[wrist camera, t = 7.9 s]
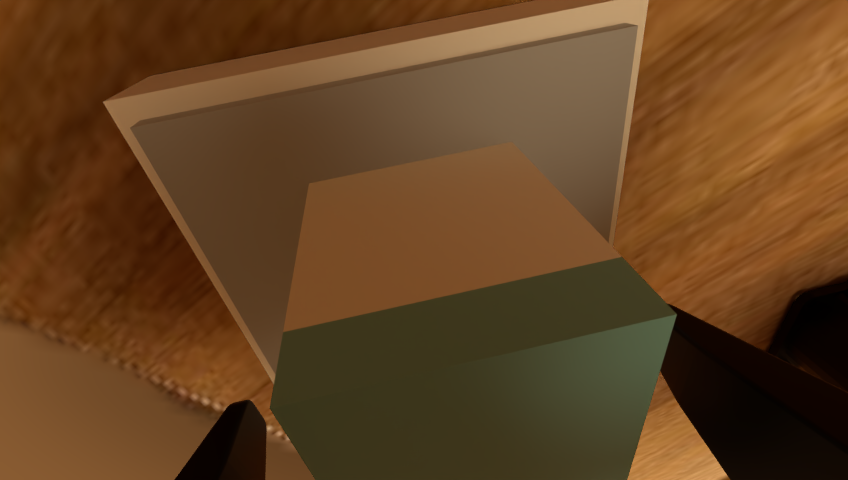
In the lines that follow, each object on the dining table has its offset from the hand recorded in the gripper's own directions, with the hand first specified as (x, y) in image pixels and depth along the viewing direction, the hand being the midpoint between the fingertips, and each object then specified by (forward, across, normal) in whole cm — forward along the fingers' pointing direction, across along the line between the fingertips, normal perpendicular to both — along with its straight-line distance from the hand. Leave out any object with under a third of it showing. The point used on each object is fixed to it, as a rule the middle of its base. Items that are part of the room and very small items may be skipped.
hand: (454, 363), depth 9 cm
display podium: (+6, 0, 0) cm, 6 cm away
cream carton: (+3, 0, 0) cm, 3 cm away
